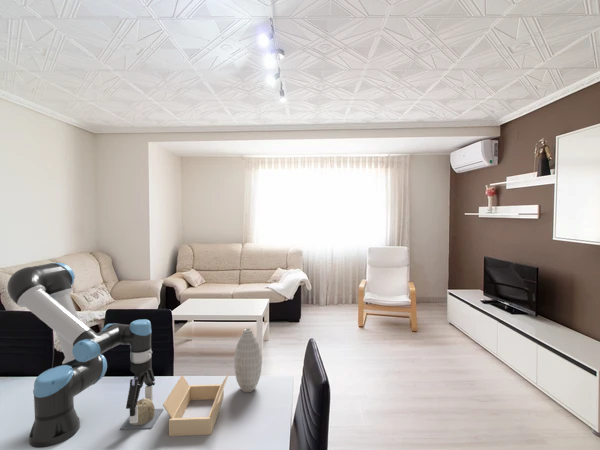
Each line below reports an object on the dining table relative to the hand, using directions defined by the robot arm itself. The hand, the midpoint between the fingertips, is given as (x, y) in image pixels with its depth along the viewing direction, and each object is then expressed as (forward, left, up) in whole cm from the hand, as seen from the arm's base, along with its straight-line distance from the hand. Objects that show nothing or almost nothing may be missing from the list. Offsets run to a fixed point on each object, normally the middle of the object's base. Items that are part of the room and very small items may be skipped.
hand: (141, 411), depth 129 cm
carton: (+22, +1, -3) cm, 23 cm away
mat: (0, 0, -3) cm, 3 cm away
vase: (+40, +20, -3) cm, 45 cm away
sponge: (0, 0, -3) cm, 3 cm away
